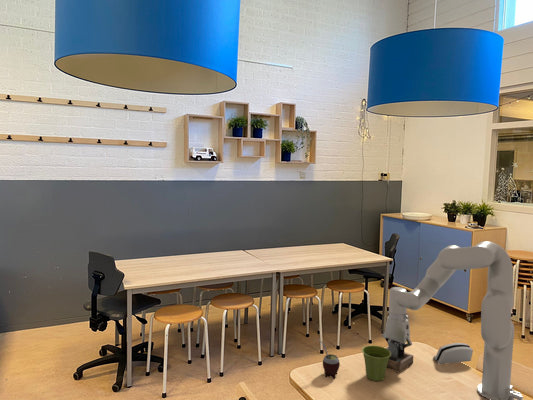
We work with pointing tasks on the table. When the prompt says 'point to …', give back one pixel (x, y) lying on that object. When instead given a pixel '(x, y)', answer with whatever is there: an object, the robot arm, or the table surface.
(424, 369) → the table surface
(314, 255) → the table surface
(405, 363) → the square wooden tray
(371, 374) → the plant pot
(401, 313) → the robot arm
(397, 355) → the grey block
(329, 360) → the mate gourd
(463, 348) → the grey rounded block
